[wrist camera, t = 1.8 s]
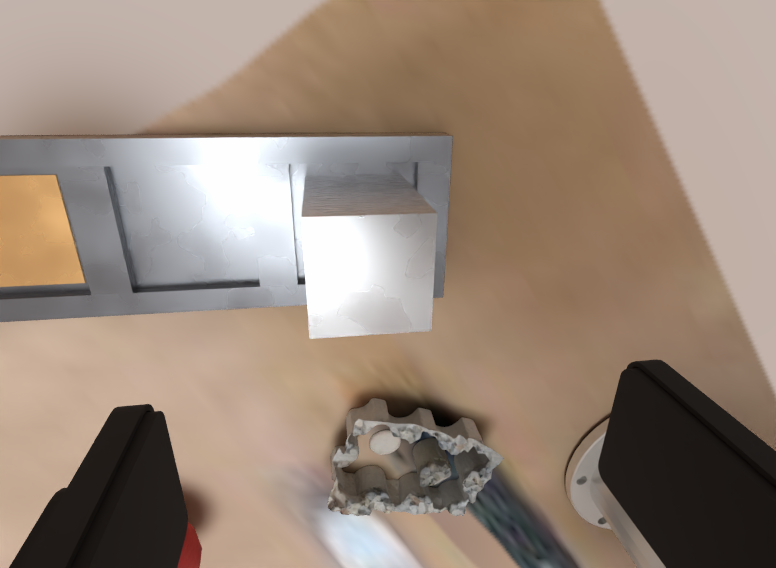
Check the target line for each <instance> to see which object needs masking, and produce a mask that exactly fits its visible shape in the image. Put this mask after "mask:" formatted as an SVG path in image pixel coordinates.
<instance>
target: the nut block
mask: <svg viewBox="0 0 776 568" xmlns="http://www.w3.org/2000/svg"><path fill="white" fill-rule="evenodd" d="M301 222H302V236H303V251H304V266H305V280H306V295H307V309H308V324H309V338H310V339H316V338H331V337H346V336H362V335H377V334H392V333H407V332H422V331H431V329H432V309H433V289H434V270H435V250H436V230H437V212H436V211H435V210H434V209H433V208H432V207H431V206H430V205H429V204H428V203H427V202H426V201H425V199H424V198H423V197H422V196H421V195H420V194H419V193H418V192H417V191H416V190H415V189H414V188H413V187H412V186H411V185H410V183H409V182H408V181H407V180H406V179H405V178H404V177H403V176H402V175H401V174H396V175H343V176H305V183H304V194H303V204H302V214H301Z"/></svg>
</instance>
